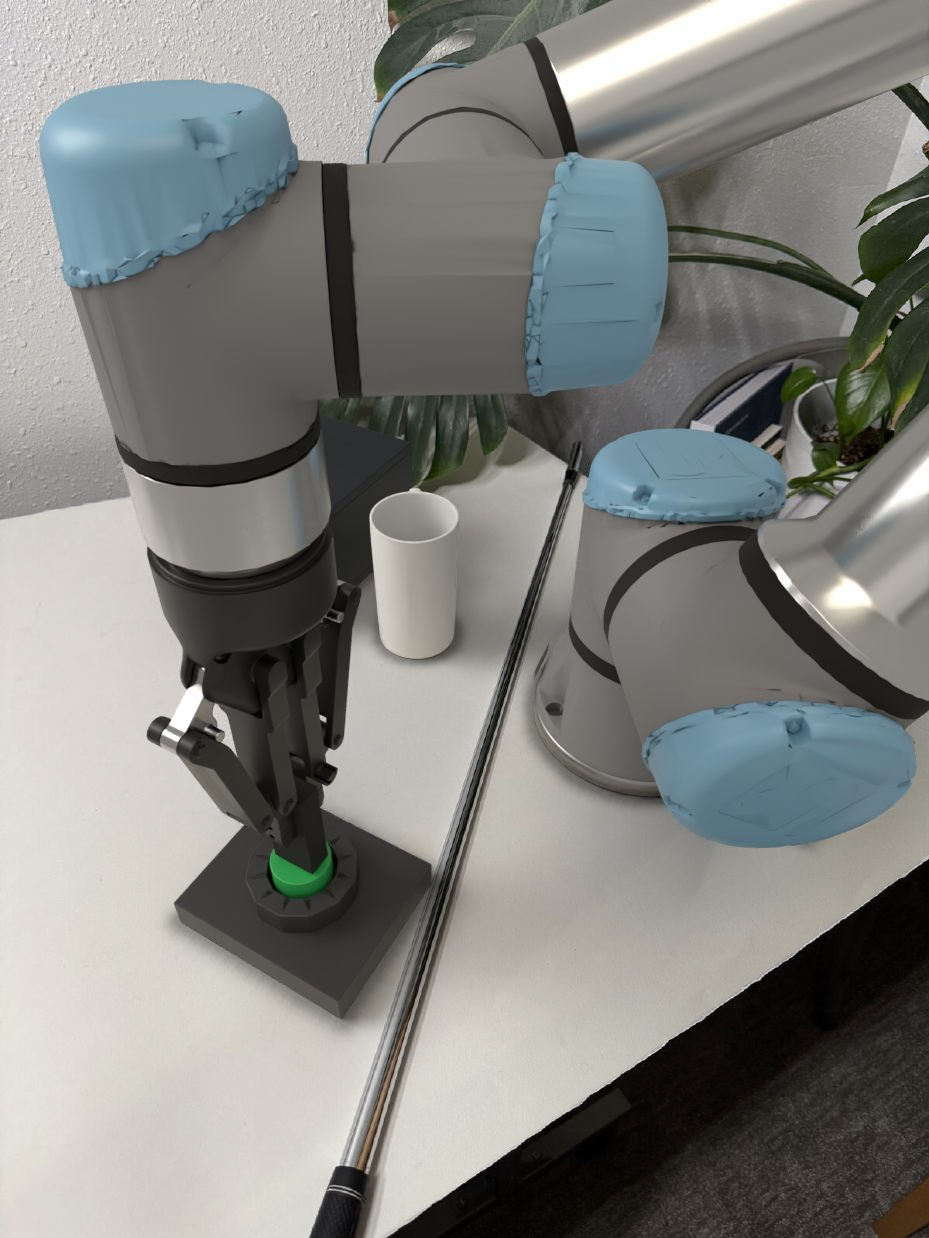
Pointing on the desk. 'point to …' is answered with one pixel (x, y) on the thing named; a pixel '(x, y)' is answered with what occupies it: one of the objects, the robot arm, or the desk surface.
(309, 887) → the button
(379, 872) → the control block
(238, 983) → the desk surface
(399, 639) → the mug
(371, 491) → the cabinet
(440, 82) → the robot arm
